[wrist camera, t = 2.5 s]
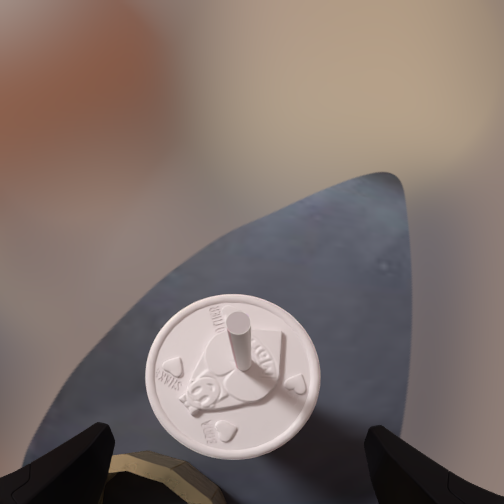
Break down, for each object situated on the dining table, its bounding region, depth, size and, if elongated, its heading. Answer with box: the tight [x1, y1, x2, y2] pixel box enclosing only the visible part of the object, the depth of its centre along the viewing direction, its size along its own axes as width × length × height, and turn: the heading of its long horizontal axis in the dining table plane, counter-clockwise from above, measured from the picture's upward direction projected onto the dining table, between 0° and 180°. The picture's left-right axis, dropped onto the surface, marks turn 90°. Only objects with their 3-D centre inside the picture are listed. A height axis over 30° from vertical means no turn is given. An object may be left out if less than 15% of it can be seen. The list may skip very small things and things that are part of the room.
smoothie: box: [146, 294, 320, 460], centre depth 12 cm, size 6×6×14 cm
